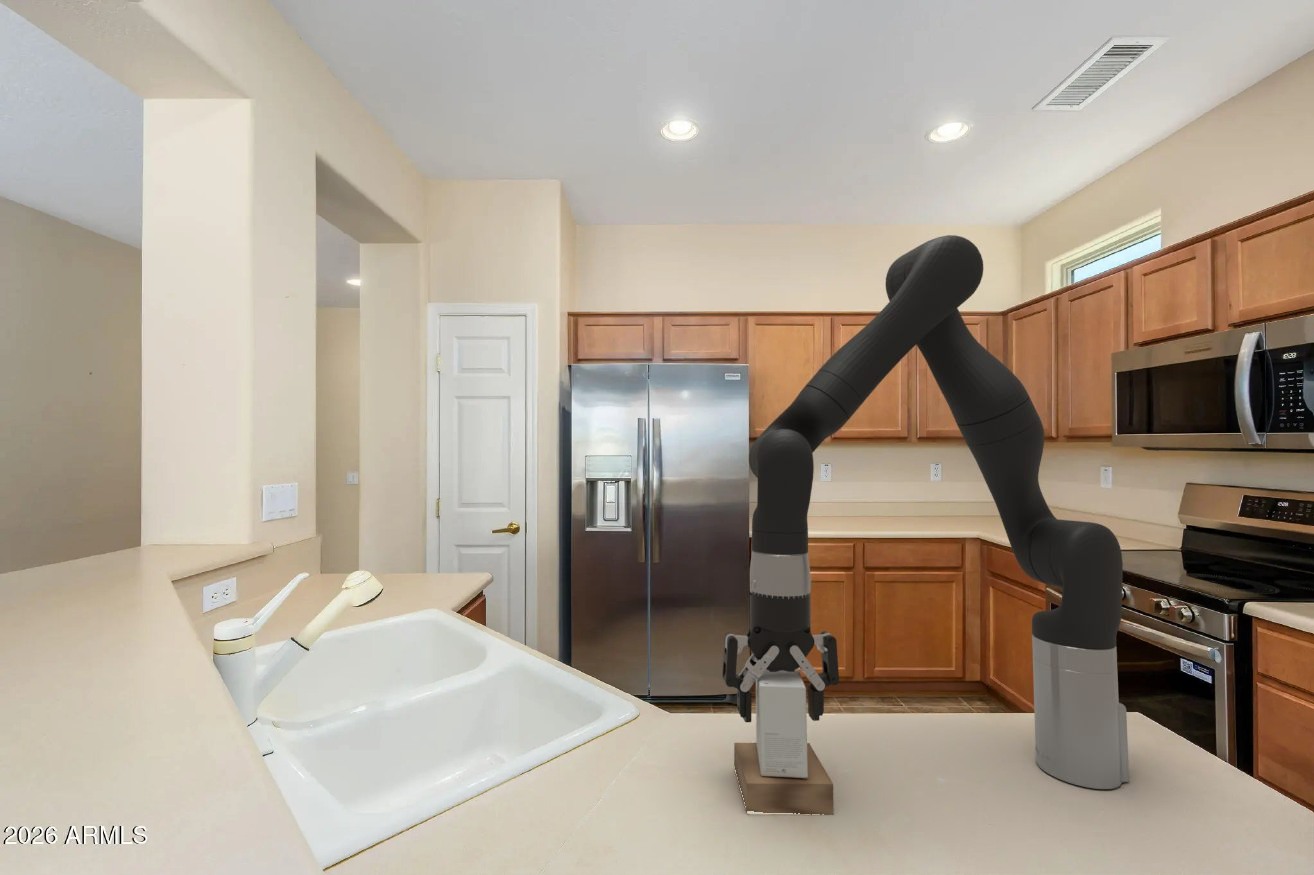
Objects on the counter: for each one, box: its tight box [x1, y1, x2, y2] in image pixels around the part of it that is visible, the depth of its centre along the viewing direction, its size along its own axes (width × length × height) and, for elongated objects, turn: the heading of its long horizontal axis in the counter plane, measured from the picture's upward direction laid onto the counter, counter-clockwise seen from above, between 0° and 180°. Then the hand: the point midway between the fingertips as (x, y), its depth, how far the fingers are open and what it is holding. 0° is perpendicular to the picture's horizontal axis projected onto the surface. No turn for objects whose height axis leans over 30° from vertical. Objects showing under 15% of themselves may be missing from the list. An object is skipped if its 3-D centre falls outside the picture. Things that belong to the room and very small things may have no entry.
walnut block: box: [733, 742, 835, 816], centre depth 71 cm, size 10×10×4 cm
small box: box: [755, 668, 808, 778], centre depth 71 cm, size 8×6×10 cm
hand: (780, 719), depth 71 cm, fingers open, 8 cm apart
